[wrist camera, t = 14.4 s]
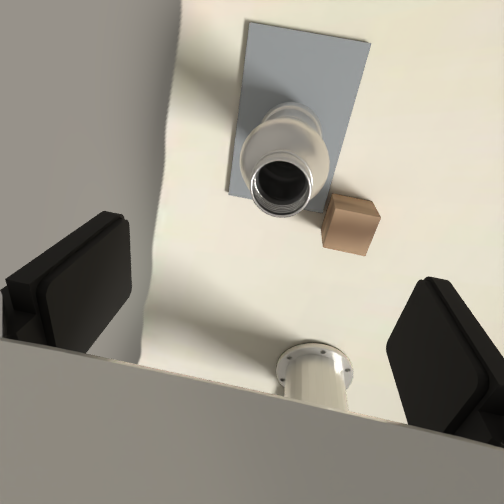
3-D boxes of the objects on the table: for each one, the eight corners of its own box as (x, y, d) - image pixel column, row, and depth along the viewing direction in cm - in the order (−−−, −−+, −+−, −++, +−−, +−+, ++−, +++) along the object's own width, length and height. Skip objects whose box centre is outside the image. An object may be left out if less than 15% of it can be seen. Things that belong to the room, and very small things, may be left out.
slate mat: (322, 211, 41) (322, 213, 40) (229, 193, 41) (228, 194, 41) (370, 43, 32) (371, 43, 31) (250, 22, 32) (249, 22, 32)
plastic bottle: (296, 172, 38) (291, 258, 21) (249, 136, 37) (204, 196, 20) (334, 126, 35) (364, 181, 18) (285, 85, 34) (267, 103, 17)
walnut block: (358, 236, 42) (365, 256, 38) (320, 228, 42) (322, 247, 38) (372, 201, 39) (380, 217, 35) (331, 192, 40) (335, 208, 35)
